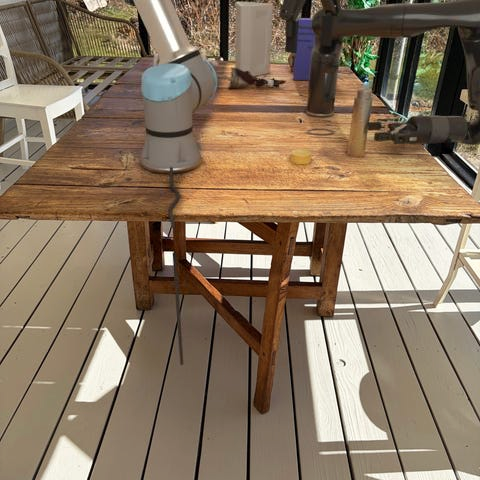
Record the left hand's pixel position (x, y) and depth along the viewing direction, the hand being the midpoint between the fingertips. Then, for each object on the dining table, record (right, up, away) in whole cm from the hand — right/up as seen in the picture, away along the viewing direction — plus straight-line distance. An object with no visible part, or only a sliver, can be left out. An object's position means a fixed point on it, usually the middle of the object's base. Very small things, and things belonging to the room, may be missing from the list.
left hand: (308, 49), depth 112 cm
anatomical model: (+10, +35, +112) cm, 118 cm away
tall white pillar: (-10, +32, +106) cm, 111 cm away
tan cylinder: (+16, -21, +19) cm, 32 cm away
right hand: (+19, -16, +16) cm, 29 cm away
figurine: (-13, +16, +80) cm, 83 cm away
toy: (-41, +37, +113) cm, 126 cm away
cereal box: (+16, +25, +95) cm, 100 cm away
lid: (0, -22, +13) cm, 26 cm away
